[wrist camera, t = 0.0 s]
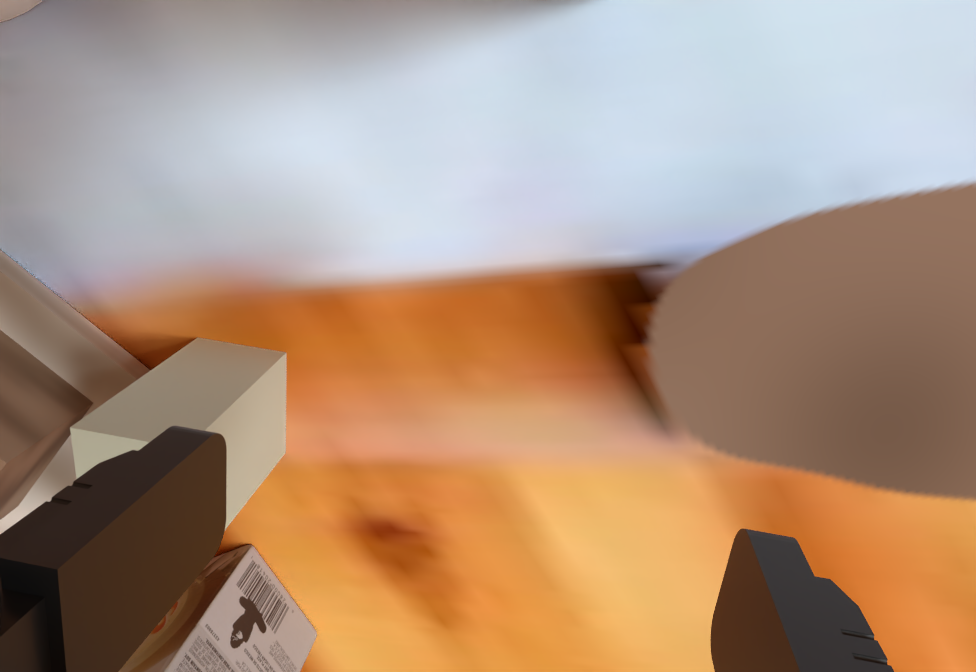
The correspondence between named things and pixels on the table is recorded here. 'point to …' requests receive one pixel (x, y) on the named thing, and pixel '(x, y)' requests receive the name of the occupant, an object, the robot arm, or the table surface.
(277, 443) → the sage brick
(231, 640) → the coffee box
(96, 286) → the table surface
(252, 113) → the table surface
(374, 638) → the table surface
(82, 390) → the tower base
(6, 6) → the flower in vase
